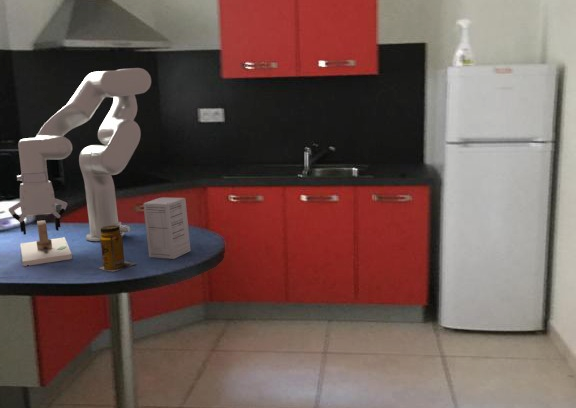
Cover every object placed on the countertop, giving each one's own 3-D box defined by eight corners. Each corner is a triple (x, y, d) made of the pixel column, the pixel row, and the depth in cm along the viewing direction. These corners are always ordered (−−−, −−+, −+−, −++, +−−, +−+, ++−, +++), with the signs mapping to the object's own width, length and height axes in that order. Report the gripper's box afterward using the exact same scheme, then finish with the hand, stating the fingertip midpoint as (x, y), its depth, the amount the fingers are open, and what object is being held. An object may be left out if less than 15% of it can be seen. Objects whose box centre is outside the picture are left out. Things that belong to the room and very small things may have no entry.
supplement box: (191, 251, 204) (187, 197, 200) (174, 259, 196) (168, 204, 192) (166, 249, 208) (161, 196, 204) (147, 257, 200) (142, 202, 196)
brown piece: (37, 246, 212) (33, 221, 210) (51, 244, 214) (48, 219, 212) (38, 253, 203) (35, 227, 202) (53, 251, 205) (50, 225, 203)
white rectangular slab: (20, 247, 219) (20, 242, 219) (65, 241, 224) (64, 236, 224) (23, 266, 197) (22, 260, 197) (72, 258, 202) (71, 253, 202)
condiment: (97, 268, 191) (92, 228, 189) (121, 261, 197) (117, 222, 195) (112, 272, 186) (107, 231, 184) (137, 264, 193) (132, 224, 190)
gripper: (5, 182, 199) (11, 237, 202) (65, 176, 205) (70, 230, 209) (4, 179, 206) (11, 232, 209) (63, 174, 212) (68, 226, 215)
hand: (41, 231), depth 209 cm, fingers open, 9 cm apart
